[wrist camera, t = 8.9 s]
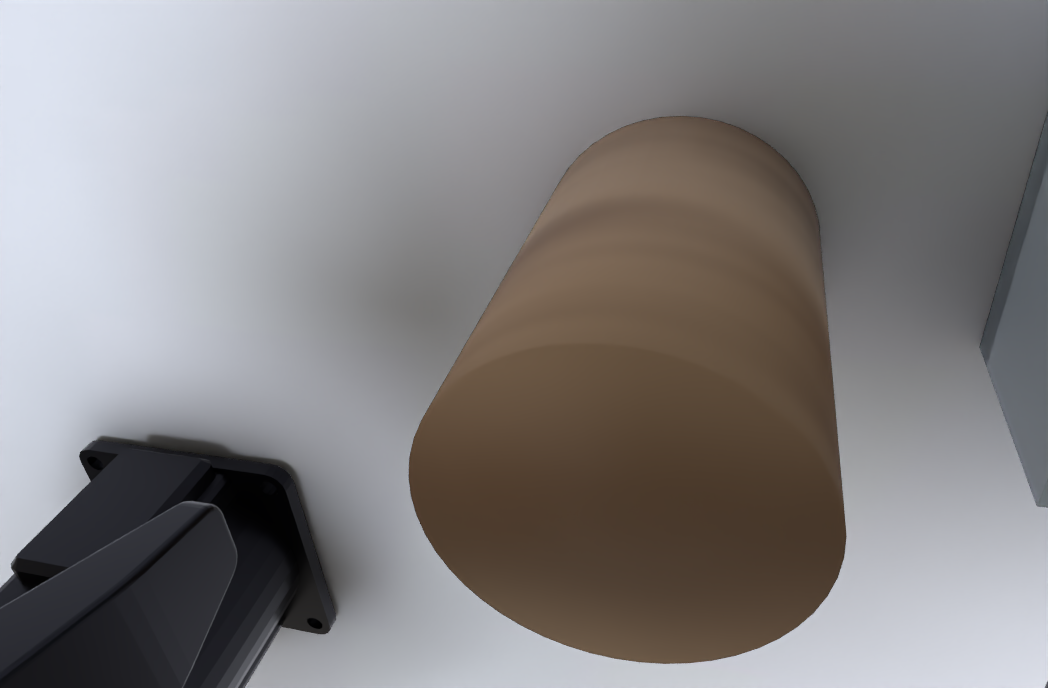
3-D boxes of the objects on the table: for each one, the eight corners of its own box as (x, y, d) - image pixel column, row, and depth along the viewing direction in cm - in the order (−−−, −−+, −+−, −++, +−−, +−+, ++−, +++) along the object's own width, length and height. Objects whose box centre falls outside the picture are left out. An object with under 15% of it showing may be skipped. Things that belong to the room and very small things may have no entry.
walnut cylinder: (802, 371, 15) (814, 695, 10) (552, 349, 17) (437, 626, 11) (839, 117, 13) (884, 366, 7) (537, 114, 14) (375, 324, 8)
